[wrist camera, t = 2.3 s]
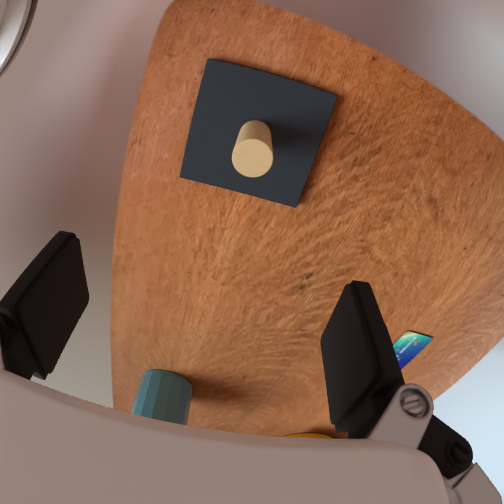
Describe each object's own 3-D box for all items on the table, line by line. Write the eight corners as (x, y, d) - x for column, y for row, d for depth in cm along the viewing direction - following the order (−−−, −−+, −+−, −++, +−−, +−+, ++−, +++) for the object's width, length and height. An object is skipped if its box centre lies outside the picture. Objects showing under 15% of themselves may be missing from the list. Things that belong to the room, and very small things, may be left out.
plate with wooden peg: (181, 174, 26) (157, 211, 20) (209, 58, 20) (188, 56, 14) (295, 204, 27) (303, 249, 21) (335, 94, 21) (362, 107, 16)
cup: (141, 389, 46) (129, 436, 38) (141, 364, 41) (126, 417, 34) (189, 401, 47) (181, 449, 39) (195, 377, 42) (186, 432, 35)
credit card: (395, 373, 41) (395, 373, 41) (369, 368, 40) (369, 369, 40) (432, 337, 37) (433, 338, 36) (407, 330, 36) (407, 330, 36)
